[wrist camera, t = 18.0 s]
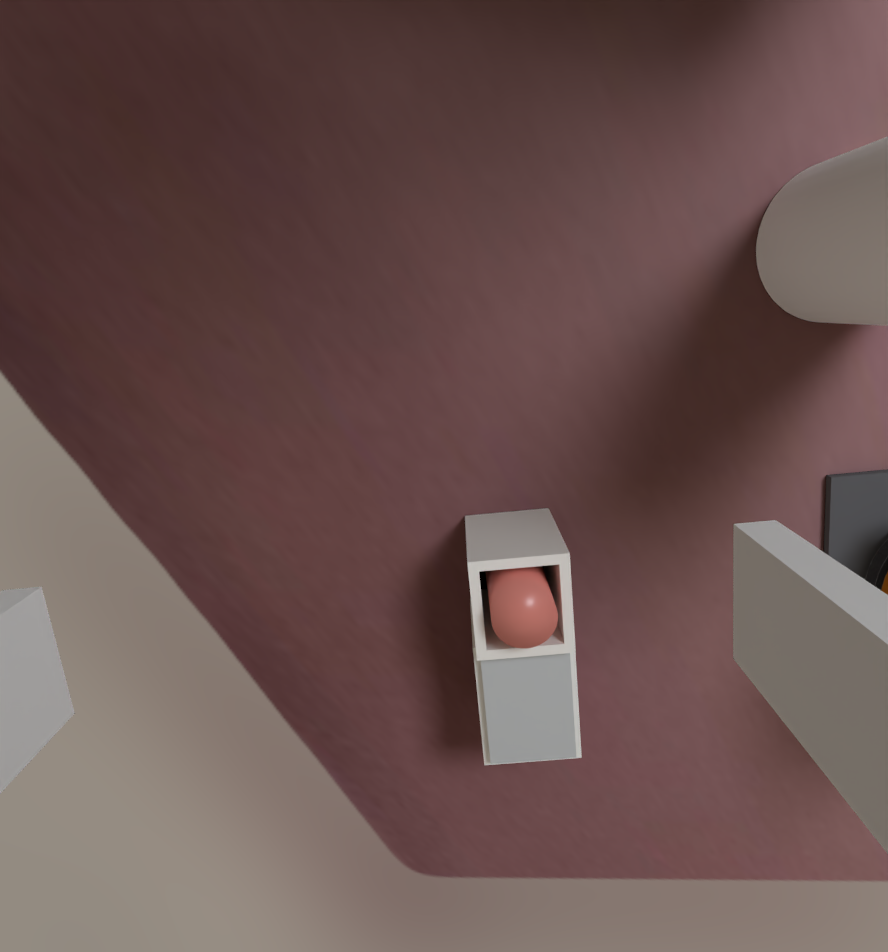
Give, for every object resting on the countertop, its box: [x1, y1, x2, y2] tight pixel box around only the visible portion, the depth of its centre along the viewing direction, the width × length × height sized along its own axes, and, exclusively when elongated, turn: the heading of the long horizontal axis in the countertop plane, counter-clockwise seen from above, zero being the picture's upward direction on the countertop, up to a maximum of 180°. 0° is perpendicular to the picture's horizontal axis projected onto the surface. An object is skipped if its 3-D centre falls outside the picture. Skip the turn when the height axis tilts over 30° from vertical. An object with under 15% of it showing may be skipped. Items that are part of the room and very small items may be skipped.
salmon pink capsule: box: [485, 566, 558, 648], centre depth 41 cm, size 4×4×8 cm
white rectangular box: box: [465, 508, 582, 765], centre depth 43 cm, size 14×6×8 cm, turn 6°
